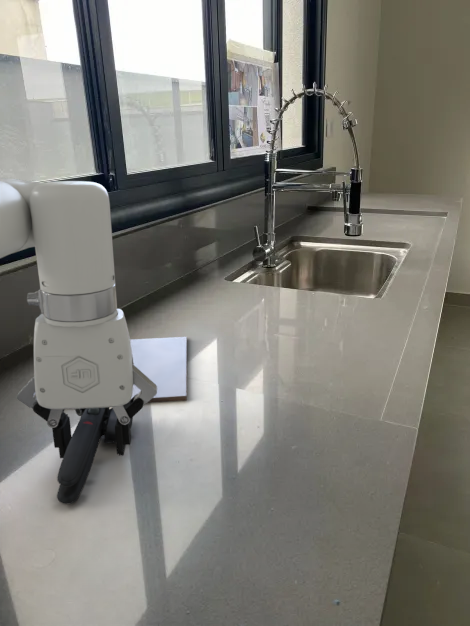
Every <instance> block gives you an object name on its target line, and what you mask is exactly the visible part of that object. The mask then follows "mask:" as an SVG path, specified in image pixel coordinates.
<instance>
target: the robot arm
mask: <svg viewBox="0 0 470 626" xmlns="http://www.w3.org/2000/svg"><path fill="white" fill-rule="evenodd" d="M111 217H112V216H111V202H110V196H109V193H108V191H107V189H106V188H105V186H103V185H102V184H100V183H97V182H94V181H85V180H61V181H59V180H58V181H46V182H39V181H32V180H27V179H20V178H19V179H18V178H11V177H0V259H3V258H5V257H7V256H9V255H11V254H16V253H18V252H20V251H23V250H27V249H30V248H34V251H35V258H36V264H37V265H36V266H37V274H38V280H39V281H38V282H39V289H38V290H36V291H35V292H28V293H27V295H26V303H27V305H28V306H35V307H38V308H39V310H40V314H39V316H37V317H36V318H35V321H34V329H33V376H31V378H30V379H29V380H28V382H26V383H25V385H24V386H23V387H22V388H21V390H20V391H19V392H18V393H17V395H16V399H17V400H18V401H19V402H21V403H22V404H24V405H25V406H26V407H27V408H29V409H32V411H33V412H34V413H35V414H36V415H37V416H39V417H40V418H42V420H44V421H45V422H46V424H47V426H48V427H49V428H51V430H52V439H53V446H54V448H55V449H58V454H59V459H63V457H64V454H65V452H66V449H67V447H68V445H69V442H70V440H71V438H72V428H71V419H70V416H69V415H68V413H66V412H65V410H75V409H81V408H105V407H110V408H113V410H114V412H115V414H116V416H117V420H116V424H115V436H116V443H115V446H116V455H118V456H119V457H120V456H121V457H122V456H124V455H125V450H126V446H127V445H131V443H132V431H131V429H132V427H131V428H130V419H131V418H132V417H133V418H134V417H135V416H136V415H137V414H138V413H139V412H140V411H141V409H143V407H144V406H145V405H146V404H148V402H149V401H150V400H151V399H152V398H153V397H154V396H155V395H156V394H157V385H156V384H155V383H153V382H152V381H151V380H150V379H149V378H148V377H147V376H146V375H144V374H143V373H142V372H141V371H140V370H139V369H138V368H137V367H135V366H134V363H133V355H132V348H131V342H130V339H131V336H130V332H129V328H128V324H127V320H126V317H125V313H124V311H123V310H122V309H121V308H118V301H117V300H118V299H117V286H116V274H115V260H114V248H113V246H114V245H113V229H112V218H111ZM133 385H135V386H137V387H138V388H139V389H140V390H141V391H140V393H138V394H136V395H135V396H134V397H133V398H132V399H131V397H132V394H133ZM130 399H131V400H130Z"/></svg>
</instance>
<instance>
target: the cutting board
mask: <svg viewBox="0 0 470 626" xmlns="http://www.w3.org/2000/svg"><path fill="white" fill-rule="evenodd" d="M130 342H131V348H132V355H133V363H134V366H135V367H137V368H138V369H139V370H140V371H141V372H142V373H143V374H144V375H146V376H147V377H148V378H149V379H150V380H151V381H152V382H153V383H155V384H156V385H157V394H156V395H155V396H154V397H153V398H152V399H151V400H150V401H149V402H148V403H149V404H150V403H164V402H165V403H166V402H167V403H168V402H181V401H188V361H187V360H188V337H187V336H175V337H153V338H152V337H151V338H134V339H133V338H132V339H131V338H130ZM140 391H141V390H140V389H139V388H138V387H137V386H135V385H133V394H132V397H131V399H132V398H133V397H134V396H135V395H136V394H138V393H140ZM131 399H130V400H131ZM148 403H147V404H148Z"/></svg>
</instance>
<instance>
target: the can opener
mask: <svg viewBox="0 0 470 626" xmlns="http://www.w3.org/2000/svg"><path fill="white" fill-rule="evenodd" d="M74 410H75V414H76V415H77V417H80V418H79V421H78V422H77V425H76V426H75V429H74V430H73V433H72V434H71V436H72V438H71V440H70V442H69V445H68V447H67V449H66V452H65V454H64V457H63V458H62V460H61V463H60V466H59V470H58V473H57V475H56V476H57V477H56V480H57V482H58V484H59V487H58V490H57V493H56V499H57V500H58V502H59V503H61V504H64V505H68V504H73V503H75V502H76V501H77V500H78V499H79V497H80V495H81V493H82V491H83V489H84V487H85V485H86V482H87V479H88V477H89V475H90V471H91V468H92V466H93V462H94V460H95V456H96V453H97V450H98V446H99V444H100V441H101V439H102V437H103V436H104V443H105V444H116V436H115V424H116V420H117V416H116V414H115V412H114V410H113V408H112V407H105V408H81V409H74ZM133 418H134V416H133V417H132V418H131V419H130V428H131V429H132V427H133V421H134V419H133Z"/></svg>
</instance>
